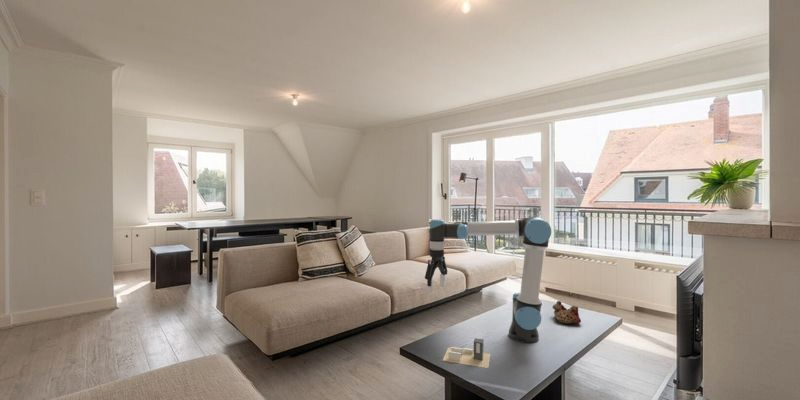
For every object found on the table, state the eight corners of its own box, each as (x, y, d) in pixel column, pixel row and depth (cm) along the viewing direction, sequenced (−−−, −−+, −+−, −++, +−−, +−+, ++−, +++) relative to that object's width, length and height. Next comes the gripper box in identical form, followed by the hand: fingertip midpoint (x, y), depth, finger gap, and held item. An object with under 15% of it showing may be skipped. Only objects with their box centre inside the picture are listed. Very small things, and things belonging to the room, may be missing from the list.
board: (490, 356, 162) (490, 347, 162) (488, 370, 149) (488, 360, 149) (448, 349, 168) (448, 340, 168) (442, 362, 155) (442, 353, 155)
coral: (543, 303, 221) (566, 296, 221) (551, 324, 218) (574, 317, 218) (554, 306, 203) (579, 299, 203) (562, 329, 200) (587, 321, 200)
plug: (483, 356, 159) (483, 339, 159) (482, 361, 155) (482, 343, 154) (474, 355, 160) (474, 338, 160) (473, 359, 156) (473, 342, 156)
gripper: (441, 245, 194) (441, 283, 194) (418, 251, 174) (417, 293, 174) (453, 246, 190) (453, 285, 190) (431, 252, 169) (430, 296, 170)
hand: (436, 289), depth 182 cm, fingers open, 13 cm apart
